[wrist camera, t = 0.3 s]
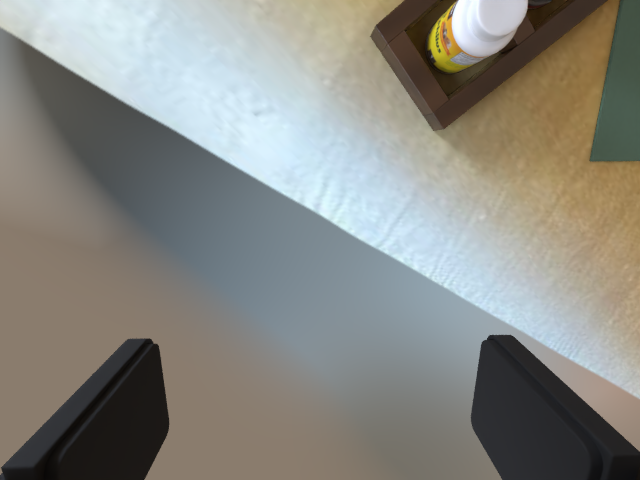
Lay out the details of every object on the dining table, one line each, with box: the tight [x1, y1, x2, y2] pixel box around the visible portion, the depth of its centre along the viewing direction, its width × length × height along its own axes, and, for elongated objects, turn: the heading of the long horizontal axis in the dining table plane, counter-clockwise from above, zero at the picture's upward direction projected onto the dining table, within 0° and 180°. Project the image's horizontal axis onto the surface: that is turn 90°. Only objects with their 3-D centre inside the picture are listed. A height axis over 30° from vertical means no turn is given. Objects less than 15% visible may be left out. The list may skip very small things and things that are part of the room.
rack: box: [370, 0, 607, 131], centre depth 33 cm, size 12×22×3 cm, turn 129°
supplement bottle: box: [425, 0, 528, 74], centre depth 30 cm, size 6×6×10 cm
